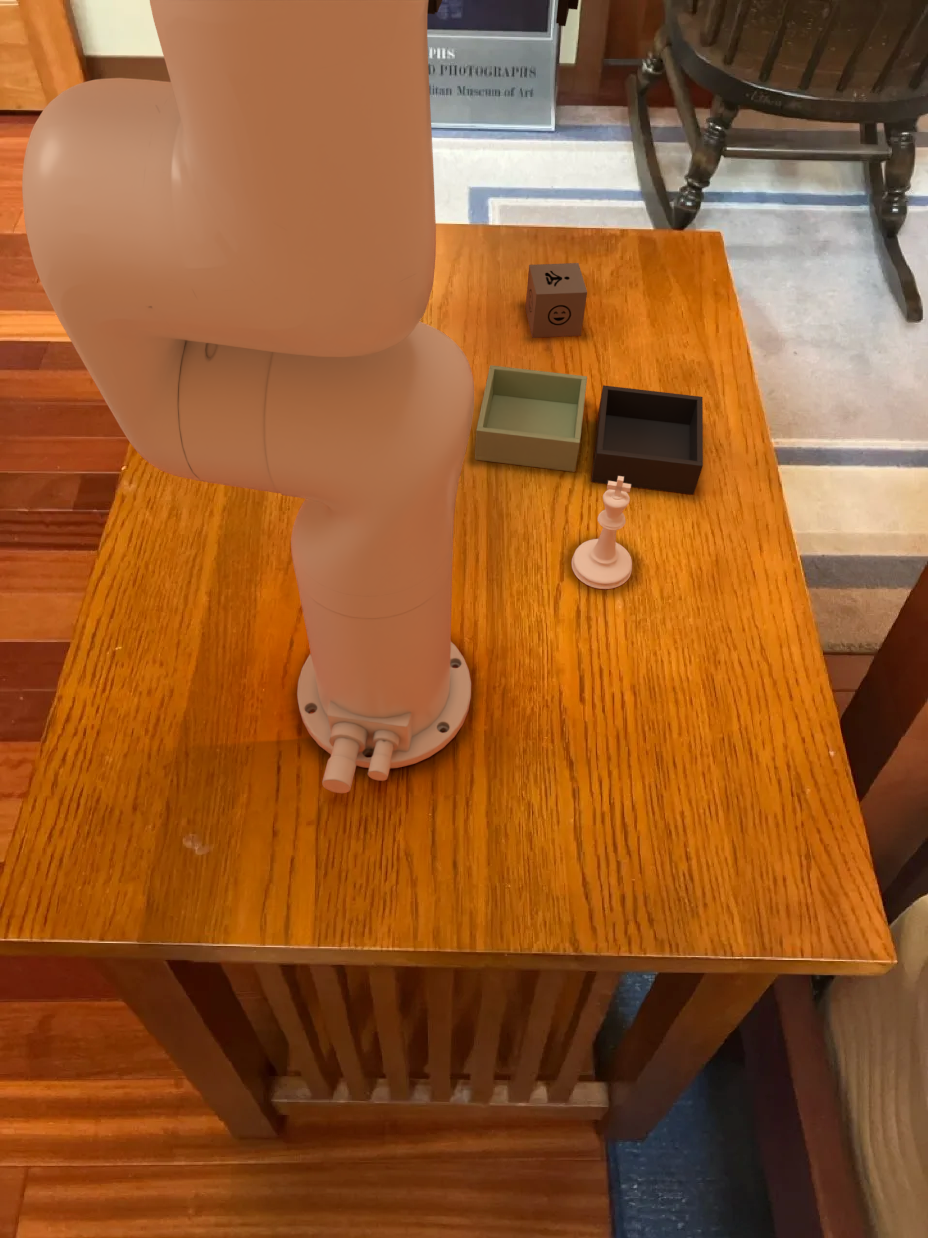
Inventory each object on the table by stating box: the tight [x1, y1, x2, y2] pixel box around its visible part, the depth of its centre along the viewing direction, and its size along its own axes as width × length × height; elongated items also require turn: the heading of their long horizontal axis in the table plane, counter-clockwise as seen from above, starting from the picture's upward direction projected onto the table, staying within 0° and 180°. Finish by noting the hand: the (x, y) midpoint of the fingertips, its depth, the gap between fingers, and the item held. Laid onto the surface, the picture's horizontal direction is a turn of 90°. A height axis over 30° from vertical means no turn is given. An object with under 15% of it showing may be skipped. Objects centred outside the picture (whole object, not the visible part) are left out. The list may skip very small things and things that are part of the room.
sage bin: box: [474, 364, 588, 473], centre depth 84 cm, size 9×9×4 cm
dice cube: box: [524, 262, 588, 339], centre depth 94 cm, size 5×5×5 cm
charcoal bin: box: [590, 385, 704, 495], centre depth 83 cm, size 9×9×4 cm
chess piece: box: [571, 476, 633, 590], centre depth 72 cm, size 5×5×10 cm
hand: (498, 12), depth 70 cm, fingers open, 9 cm apart
